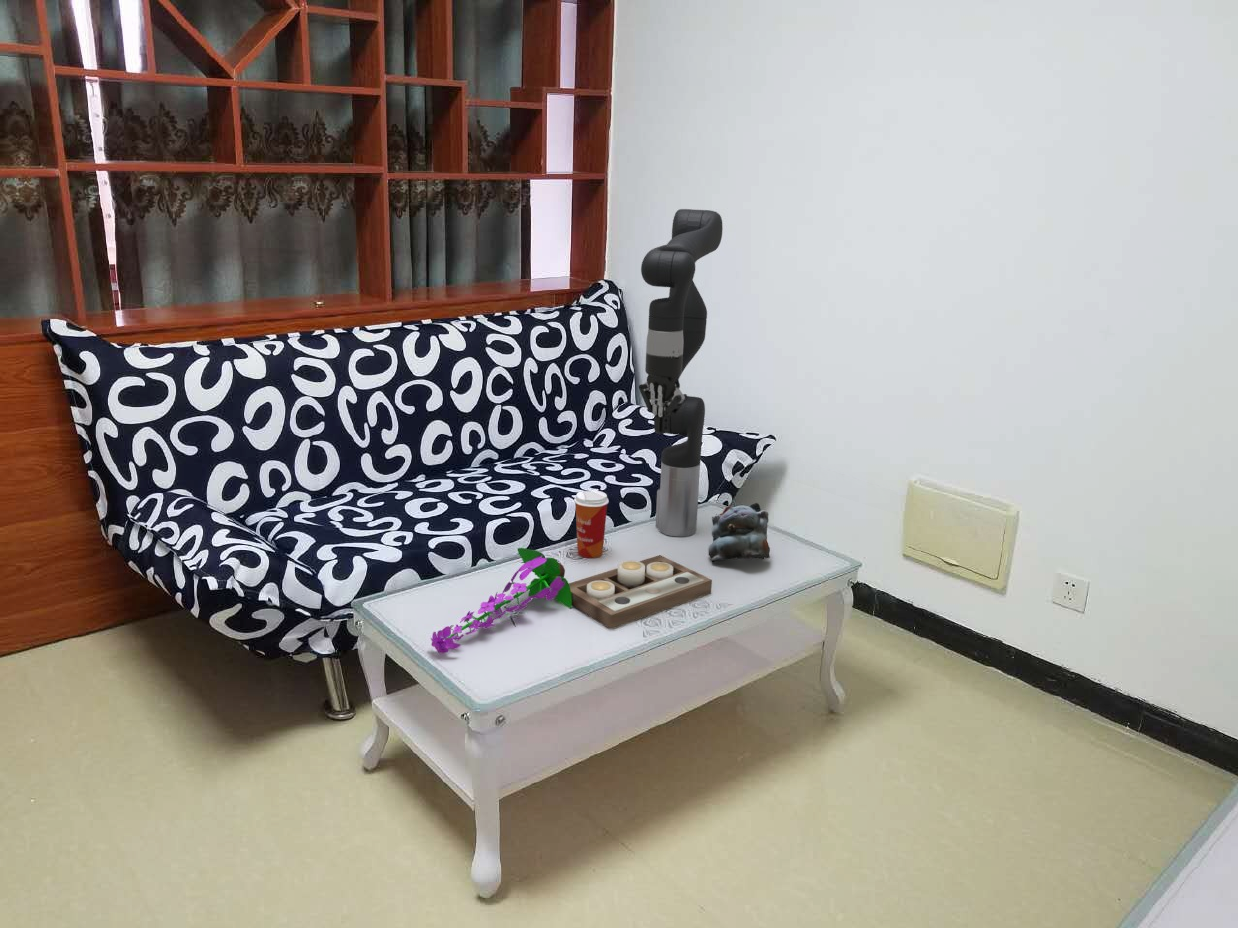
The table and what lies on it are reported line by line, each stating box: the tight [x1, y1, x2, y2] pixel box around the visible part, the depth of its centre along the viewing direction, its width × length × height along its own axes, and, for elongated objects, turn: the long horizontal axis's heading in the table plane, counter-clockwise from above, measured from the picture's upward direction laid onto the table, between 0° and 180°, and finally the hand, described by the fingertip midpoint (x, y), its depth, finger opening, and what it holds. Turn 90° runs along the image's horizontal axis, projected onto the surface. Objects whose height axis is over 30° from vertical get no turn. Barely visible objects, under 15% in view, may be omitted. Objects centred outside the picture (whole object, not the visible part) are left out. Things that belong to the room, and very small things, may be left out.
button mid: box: [617, 560, 645, 585], centre depth 198 cm, size 6×6×3 cm
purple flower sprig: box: [430, 547, 572, 654], centre depth 184 cm, size 12×16×35 cm
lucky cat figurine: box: [707, 502, 771, 563], centre depth 218 cm, size 15×12×14 cm
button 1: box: [587, 580, 615, 600], centre depth 194 cm, size 6×6×3 cm
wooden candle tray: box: [568, 554, 713, 630], centre depth 198 cm, size 16×27×3 cm, turn 130°
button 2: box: [646, 562, 673, 580], centre depth 204 cm, size 6×6×3 cm
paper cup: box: [573, 489, 610, 559], centre depth 216 cm, size 8×8×14 cm
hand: (660, 432), depth 202 cm, fingers closed
